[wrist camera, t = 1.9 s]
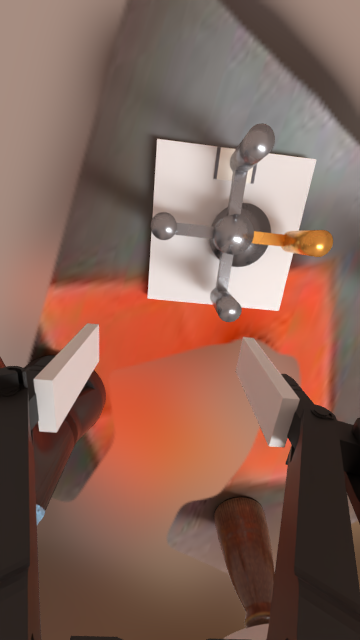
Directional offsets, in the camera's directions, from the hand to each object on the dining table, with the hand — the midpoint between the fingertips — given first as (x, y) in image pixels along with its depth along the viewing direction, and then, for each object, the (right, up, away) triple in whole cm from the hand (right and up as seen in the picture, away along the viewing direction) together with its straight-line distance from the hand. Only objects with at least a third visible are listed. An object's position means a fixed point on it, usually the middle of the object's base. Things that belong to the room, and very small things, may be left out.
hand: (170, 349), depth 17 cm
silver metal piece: (+7, +14, +16) cm, 22 cm away
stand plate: (+7, +14, +18) cm, 24 cm away
